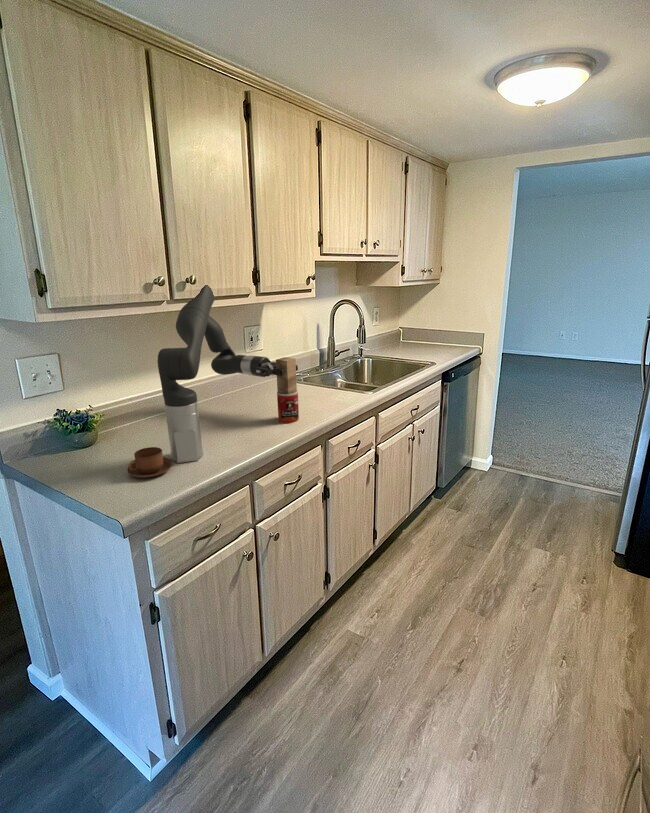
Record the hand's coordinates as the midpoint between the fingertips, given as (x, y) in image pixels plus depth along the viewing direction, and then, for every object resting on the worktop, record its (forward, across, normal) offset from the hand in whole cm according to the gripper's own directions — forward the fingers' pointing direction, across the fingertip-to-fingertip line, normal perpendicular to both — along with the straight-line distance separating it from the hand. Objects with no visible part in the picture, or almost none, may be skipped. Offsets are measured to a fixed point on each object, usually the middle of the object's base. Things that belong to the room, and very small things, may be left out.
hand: (290, 370), depth 167 cm
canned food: (-2, 0, +19) cm, 19 cm away
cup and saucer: (-9, -56, +19) cm, 60 cm away
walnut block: (-2, 0, +8) cm, 8 cm away
